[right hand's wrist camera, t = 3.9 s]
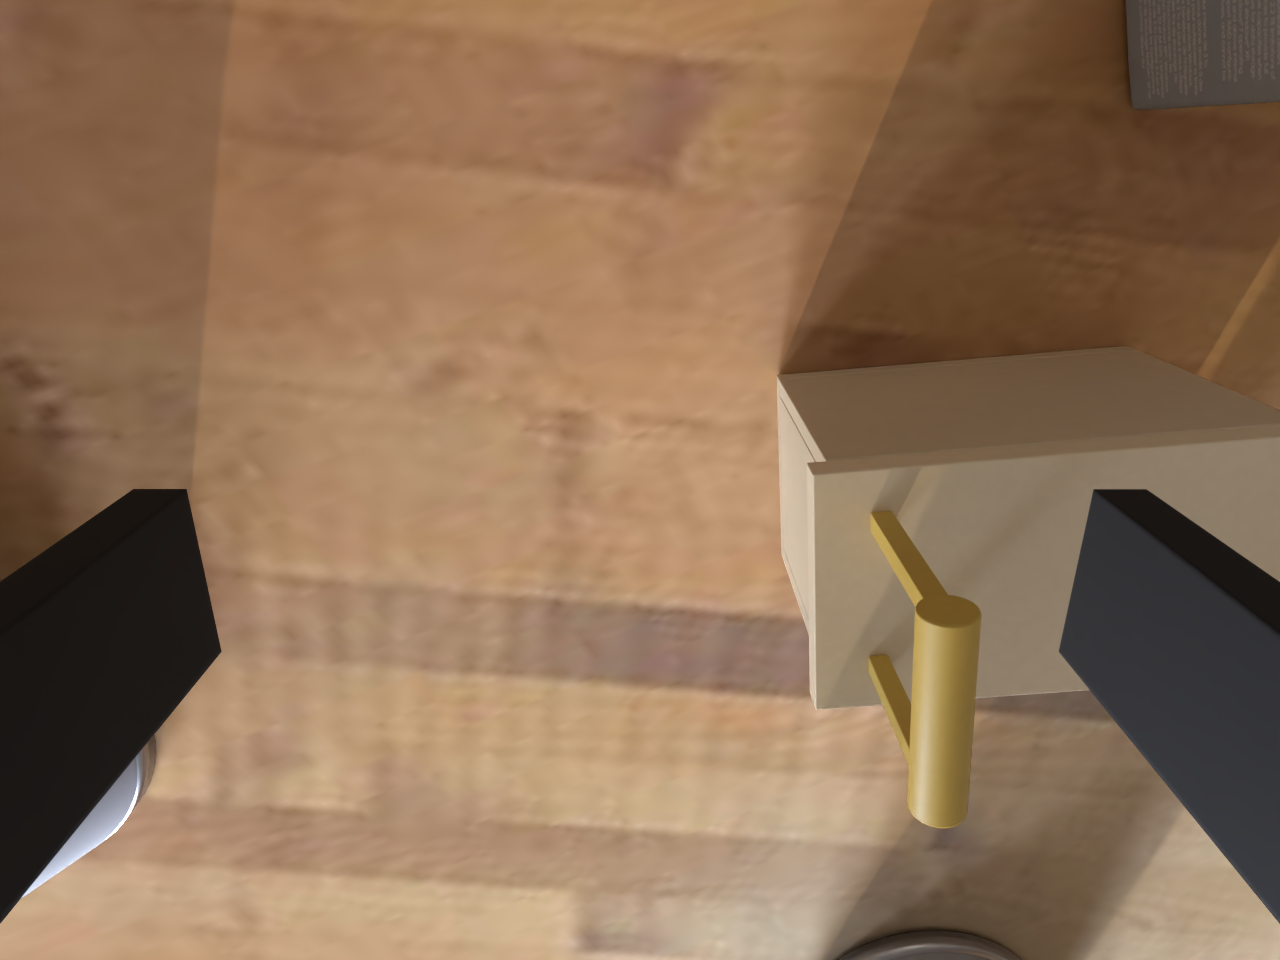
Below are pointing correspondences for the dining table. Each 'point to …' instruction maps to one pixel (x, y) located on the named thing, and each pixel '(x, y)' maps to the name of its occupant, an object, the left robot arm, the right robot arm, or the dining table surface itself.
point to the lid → (991, 573)
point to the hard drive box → (1203, 52)
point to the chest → (983, 415)
